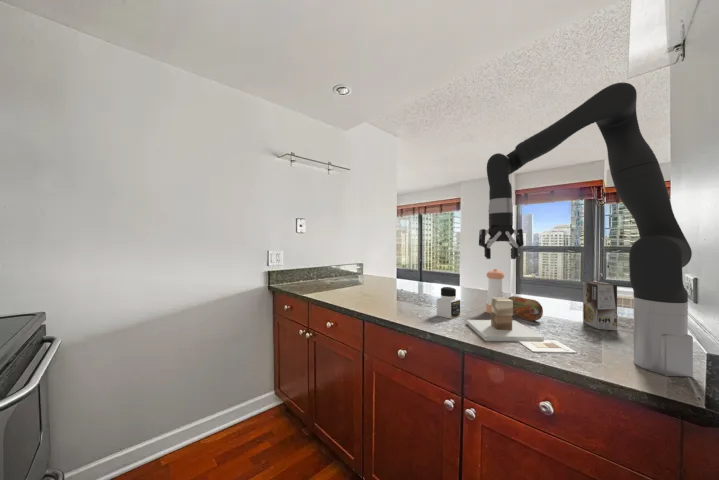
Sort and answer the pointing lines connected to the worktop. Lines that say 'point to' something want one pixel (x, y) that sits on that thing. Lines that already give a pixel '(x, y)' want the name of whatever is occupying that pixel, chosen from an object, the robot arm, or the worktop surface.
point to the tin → (526, 308)
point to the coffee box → (600, 305)
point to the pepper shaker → (494, 287)
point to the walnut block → (501, 321)
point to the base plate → (503, 332)
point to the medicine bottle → (448, 303)
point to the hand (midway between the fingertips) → (500, 258)
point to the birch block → (502, 306)
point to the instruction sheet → (546, 346)
